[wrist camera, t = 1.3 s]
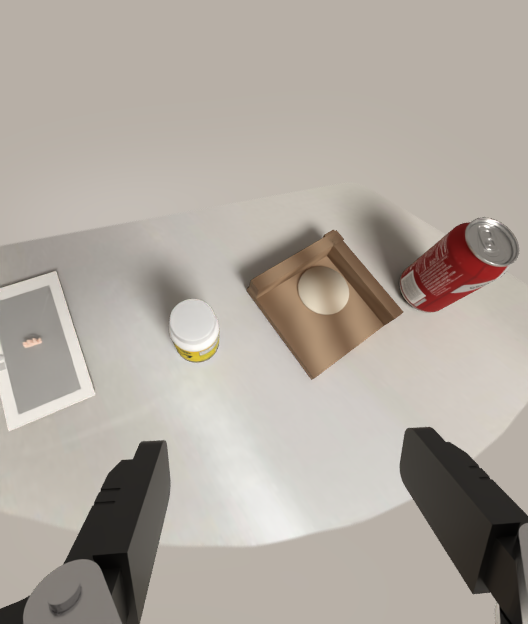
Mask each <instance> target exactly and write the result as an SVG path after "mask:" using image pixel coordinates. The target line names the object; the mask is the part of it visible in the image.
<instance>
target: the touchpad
mask: <svg viewBox="0 0 528 624" xmlns="http://www.w3.org/2000/svg"><path fill="white" fill-rule="evenodd" d="M94 395H95V392H94V389H93V386H92V382H91V379H90V376H89V373H88V370H87V367H86V363H85V360H84V357H83V354H82V351H81V348H80V345H79V341H78V338H77V335H76V332H75V329H74V326H73V322H72V319H71V316H70V313H69V310H68V307H67V303H66V300H65V297H64V294H63V291H62V288H61V285H60V281H59V278H58V275H57V272H56V271H54V272H51V273H48V274H44V275H41V276H38V277H35V278H31V279H28V280H25V281H22V282H18V283H15V284H12V285H9V286H5V287H2V288H0V396H1V400H2V405H3V409H4V413H5V418H6V422H7V426H8V430H9V431H11V430H13V429H16V428H18V427H21V426H23V425H25V424H28V423H30V422H32V421H35V420H37V419H40V418H42V417H44V416H47V415H49V414H51V413H54V412H56V411H59V410H61V409H63V408H66V407H68V406H70V405H73V404H75V403H78V402H80V401H82V400H85V399H87V398H89V397H92V396H94Z"/></svg>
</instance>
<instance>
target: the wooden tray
mask: <svg viewBox="0 0 528 624" xmlns="http://www.w3.org/2000/svg"><path fill="white" fill-rule="evenodd" d="M343 240H344V239H343V237H342V236H341V235H340V234H339V233H338V232H337V230H336V231H334V230H332V231H330V232H328V233H327V234H325V235H324V237H323V238H322V239H320V240H319V241H317V242H315V243H313V244H312V245H310V246H308V247H307V248H305V249H303V250H301V251H300V252H298V253H296V254H295V255H293V256H291V257H289V258H288V259H286V260H284V261H283V262H281V263H279V264H277V265H276V266H274V267H272V268H271V269H269V270H267V271H265V272H264V273H262V274H260V275H259V276H257V277H255V278H253V279H252V280H251V282H250V286H249V287H248V288H247V292H248V293H249V295H250V296H251V297H252V299H253V300H254V302H255V303H256V304H257V306H258V307H259V308H260V310H261V311H262V313H263V314H264V315H265V317H266V318H267V319H268V321H269V322H270V323H271V325H272V326H273V328H274V329H275V330H276V332H277V333H278V334H279V336H280V337H281V339H282V340H283V341H284V343H285V344H286V345H287V347H288V348H289V349H290V351H291V352H292V354H293V355H294V356H295V358H296V359H297V360H298V362H299V363H300V365H301V366H302V367H303V369H304V370H305V371H306V373H307V374H308V375H309V377H310V378H311V380H312V379H314V378H315V377H317V376H318V375H319V374H321V373H322V372H323V371H325V370H326V369H327V368H329V367H330V366H331V365H333V364H334V363H335V362H337V361H338V360H339V359H341V358H342V357H343V356H345V355H346V354H347V353H348V352H350V351H351V350H352V349H354V348H355V347H356V346H358V345H359V344H360V343H362V342H363V341H364V340H366V339H367V338H368V337H370V336H371V335H372V334H374V333H375V332H376V331H378V330H379V329H380V328H381V327H383V326H384V325H386V324H387V323H389V322H391V321H392V320H394V319H395V318H397V317H398V316H399V315H400V314H402V313H403V311H402V310H401V309H400V307H399V306H398V305H397V304H396V303H395V301H394V300H393V299H392V298H391V297H390V296H389V294H388V293H387V292H386V291H385V290H384V288H383V287H382V286H381V285H380V284H379V283H378V281H377V280H376V279H375V278H374V277H373V276H372V274H371V273H370V272H369V271H368V270H367V268H366V267H365V266H364V265H363V264H362V263H361V261H360V260H359V259H358V258H357V257H356V255H355V254H354V253H353V252H352V251H351V250H350V248H349V247H348V246H347V245H346V244H345V242H344V241H343Z"/></svg>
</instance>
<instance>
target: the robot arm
mask: <svg viewBox="0 0 528 624" xmlns="http://www.w3.org/2000/svg"><path fill="white" fill-rule="evenodd" d="M400 474H401V478H402V481H403V483H404V485H405V487H406V489H407V490H408V492H409V493H410V495H411V496H412V498H413V500H414V501H415V503H416V504H417V506H418V507H419V509H420V511H421V512H422V514H423V516H424V517H425V519H426V520H427V522H428V524H429V525H430V527H431V528H432V530H433V531H434V533H435V535H436V536H437V538H438V539H439V541H440V543H441V544H442V546H443V547H444V549H445V551H446V552H447V554H448V555H449V557H450V558H451V560H452V562H453V563H454V565H455V566H456V568H457V569H458V571H459V573H460V574H461V576H462V577H463V579H464V581H465V582H466V584H467V586H468V587H469V589H470V590H471V592H472V594H480V593H490V592H491V594H492V595H493V597H494V598H495V600H496V601H497V603H496V606H495V624H528V516H527V515H526V513H525V512H524V511H523V510H522V509H521V508H519V506H518V505H517V504H516V503H515V502H514V501H513V500H512V499H511V498H510V497H509V496H508V495H507V494H506V493H505V492H504V491H503V490H502V489H501V488H500V487H499V486H498V485H497V484H496V483H495V482H494V481H493V480H491V479H490V478H489V476H488V475H487V474H486V473H485V471H483V469H482V468H479V466H478V464H477V463H476V462H475V461H474V460H473V459H472V458H471V457H470V456H469V455H468V454H467V453H466V452H464V451H463V450H461V449H460V448H458V447H456V446H455V445H453V444H452V443H450V442H445V441H444V440H443V438H442V437H441V436H440V435H439V434H438V433H437V432H436V431H435V430H434V429H433V428H431V427H420V428H408V429H406V431H405V434H404V441H403V447H402V453H401V460H400ZM169 495H170V471H169V461H168V451H167V443H166V441H165V440H161V441H142V442H141V443H140V444H139V446H138V449H137V451H136V453H135V456H134V458H133V459H132V460H121V461H120V462H119V463H118V464H117V465H116V466H115V467H114V468H113V469H112V470H111V471H110V472H109V473H108V475H107V477H106V480H105V482H104V484H103V486H102V488H101V492H99V494H98V496H97V498H96V500H95V502H94V506H92V508H91V510H90V512H89V514H88V516H87V518H86V520H85V522H84V524H83V526H82V528H81V530H80V532H79V534H78V536H77V538H76V540H75V542H74V545H73V546H72V548H71V550H70V552H69V555H68V556H67V558H66V560H65V562H64V564H63V565H62V566H60V567H58V568H57V569H55V570H54V571H52V572H51V573H50V574H48V575H47V576H46V577H45V578H44V579H43V580H42V581H41V582H40V583H39V584H38V585H37V587H36V588H35V589H34V591H33V592H32V594H31V595H30V596H28V597H27V598H25V599H23V600H21V601H19V602H16V603H14V604H11V605H9V606H6V607H4V608H1V609H0V624H140V620H141V616H142V611H143V608H144V603H145V599H146V595H147V590H148V586H149V582H150V578H151V574H152V569H153V565H154V560H155V556H156V552H157V548H158V544H159V540H160V535H161V531H162V527H163V523H164V518H165V514H166V510H167V506H168V501H169Z"/></svg>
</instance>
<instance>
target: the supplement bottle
mask: <svg viewBox="0 0 528 624" xmlns="http://www.w3.org/2000/svg"><path fill="white" fill-rule="evenodd" d="M169 334H170V337H171V339H172V341H173V343H174V345H175V347H176V349H177V351H178V353H179V354H180V355H181V356H182V357H183V358H184V359H185V360H187V361H189V362H193V363H201V362H204V361H207V360H209V359H210V358H211V357H212V356H213V355H214V354H215V353H216V351H217V349H218V346H219V321H218V319H217V317H216V315H215V314H214V311H213V309H212V308H211V307H210V305H208V304H207V303H206V302H204V301H202V300H199V299H187V300H184V301H182V302H180V303H178V304H177V305H176V306H175V307H174V308H173V310H172V312H171V314H170V322H169Z"/></svg>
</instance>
